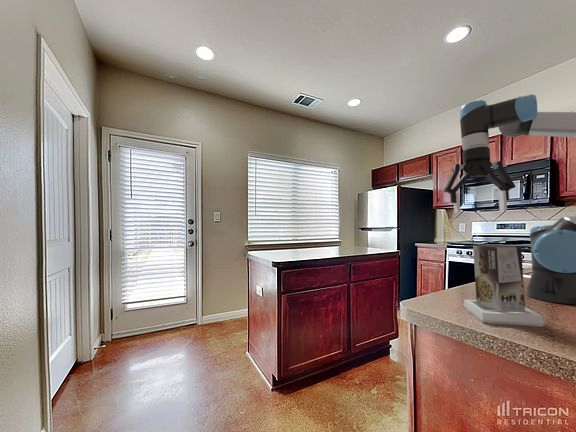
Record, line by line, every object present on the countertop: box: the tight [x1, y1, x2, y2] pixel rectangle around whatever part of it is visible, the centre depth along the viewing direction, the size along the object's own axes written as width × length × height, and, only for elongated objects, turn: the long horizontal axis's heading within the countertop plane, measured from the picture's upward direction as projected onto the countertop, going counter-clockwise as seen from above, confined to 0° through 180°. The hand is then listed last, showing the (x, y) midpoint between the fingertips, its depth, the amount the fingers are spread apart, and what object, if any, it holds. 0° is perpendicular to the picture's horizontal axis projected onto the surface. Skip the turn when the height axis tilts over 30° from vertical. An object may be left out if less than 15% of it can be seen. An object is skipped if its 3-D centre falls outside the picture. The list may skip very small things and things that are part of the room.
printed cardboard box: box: [472, 244, 526, 312], centre depth 70 cm, size 9×6×16 cm
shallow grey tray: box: [463, 299, 544, 328], centre depth 69 cm, size 12×12×2 cm
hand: (479, 212), depth 88 cm, fingers open, 13 cm apart
